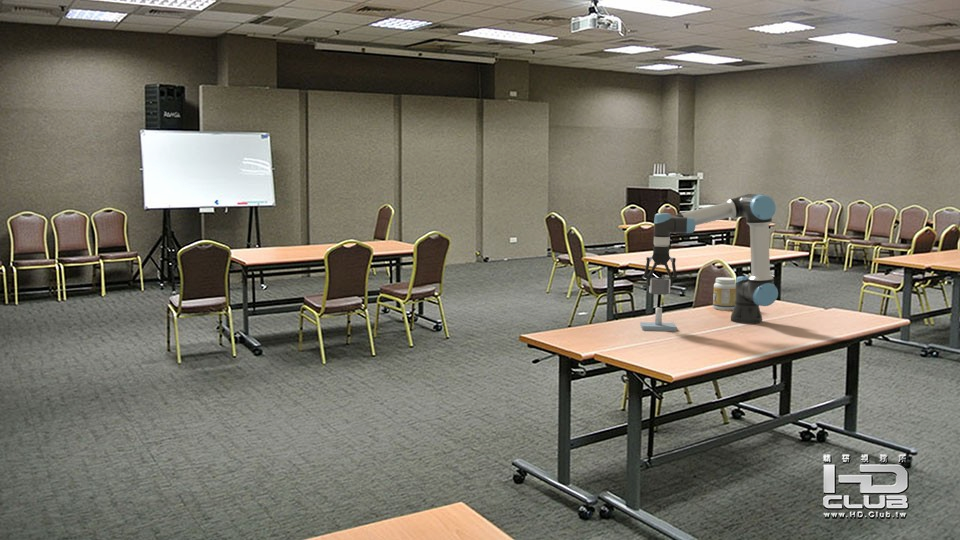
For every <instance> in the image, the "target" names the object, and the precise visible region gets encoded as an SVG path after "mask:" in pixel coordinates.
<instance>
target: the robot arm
mask: <svg viewBox="0 0 960 540" xmlns="http://www.w3.org/2000/svg"><path fill="white" fill-rule="evenodd" d="M776 210H777V207H776V203H775V201H774V200H773V198H772V197H770V196H768V195H766V194H759V193H757V194H756V193H755V194H754V193H747V194H744V195H739V196H737V197H734V198H729V199H728V200H726V201H725V202H722V203H719V204H715V205H711V206H706V207H701V208H698V209H694V210H689V211H686V212H685V211H684V212H682V213H678V214H673V215H672V214H671V213H670V212H669V213H668V212H664V213H663V212H659V213H658V212H657V213H656V214H654V221H653V245H654V246H653V248H652V251H653V252H652V256H646V264H645V269H644V273H643V277H644V279H647V283H646V284H647V286H648V287H649V290H648V291H649V294H651V291H652V279H651V278H652V276H653V274H654V272H655V270H656V269H657V266H664V267H665V270H666V272H667V275H668V277H669V278H668V279H669V293H668V294H671V287H673V283H674V280H675V279H677V277H678V276H677V268H676V260H677V259H676V257H670V243H671V242H670V241H671V234H693V233H694V232H695V230H696V226H700V225H703V224H707V223H711V222H716V221H720V220H723V219H729V218H731V219H735V218H737V219H738V218H746V225H748V226H749V236H750V237H749V239H750V240H749V241H750V242H749V243H750V244H749V245H750V264H751V265H750V266H751V267H750V269H751V272H750V273H751V274H750V275H749V276H746V275H745V276H744V275H742V276H737V277H736V278H735V284H736V294H735V307H734V309H733V310H732V312H731V315H730V321H731V322H735V323H739V324H760V322H761V323H762V322H763V316H762V313H761V312H762V311H761V310H760V307H769V306H771V305H773V304H774V303H775V302H776V301H777V299H778V296H779V291H778V290H779V289H778V288H777V286H776V285H775V284H774V283H775V282H774V277H773V276H772V275H771V271H770V270H771V267H770V266H771V264H770V263H771V262H770V234H769V233H770V231H769V229H770V228H769V227H770V224H772V222H773V219H772V218H773V216H774V215H775V213H776ZM652 261H653V262H654V263H653V265H652V267H651V269H650V271H649V268H650V263H651V262H652ZM669 261H670V263H671V267H672V273H673V274H672V273H671V270H670V268H669V264H668V262H669Z"/></svg>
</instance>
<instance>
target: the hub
mask: <svg viewBox="0 0 960 540" xmlns="http://www.w3.org/2000/svg"><path fill="white" fill-rule="evenodd" d="M650 279H652V291H651V293H650V294H651V295H669V294H670V293H669V279H670V278H667V277H666V278H665V277H651V278H650Z"/></svg>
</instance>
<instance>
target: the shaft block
mask: <svg viewBox="0 0 960 540" xmlns="http://www.w3.org/2000/svg"><path fill="white" fill-rule="evenodd" d="M662 321H663V307H656V308H655V320H654V322H647V321H646V322H645V321H644V322H643V321H640V328H641V330H642V331H651V332H652V331H657V332H658V331H659V332H662V331H663V332H677V331H678V330H677V325H676V324H675V323H674V322H662Z"/></svg>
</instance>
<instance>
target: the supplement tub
mask: <svg viewBox="0 0 960 540" xmlns="http://www.w3.org/2000/svg"><path fill="white" fill-rule="evenodd" d="M735 294H736V278H733V277H727V276H726V277H721V276H720V277H719V276H718V277H716V278H715V282H714V284H713V294H712V295H713V296H712V297H713V298H712V299H713V300H712V307H713V309H714V310H719V311H733V309H734V307H735Z"/></svg>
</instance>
